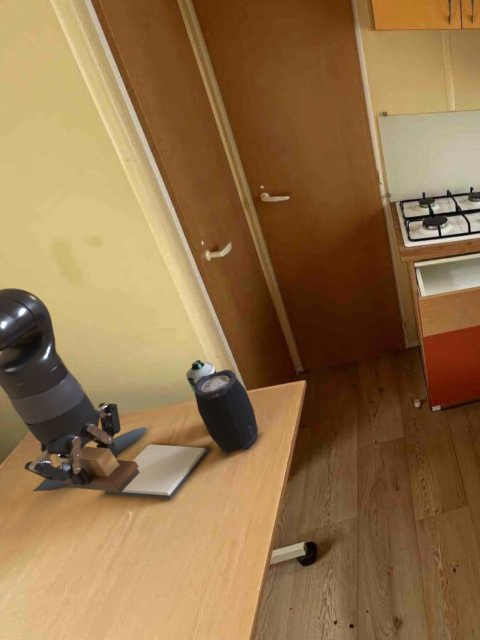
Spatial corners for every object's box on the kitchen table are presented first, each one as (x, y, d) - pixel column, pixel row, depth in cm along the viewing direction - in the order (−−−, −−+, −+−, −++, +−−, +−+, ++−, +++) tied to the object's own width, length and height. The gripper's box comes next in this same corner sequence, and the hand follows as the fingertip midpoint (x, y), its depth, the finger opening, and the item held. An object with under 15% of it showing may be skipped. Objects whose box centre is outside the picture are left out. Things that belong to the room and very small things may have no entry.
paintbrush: (138, 426, 106) (130, 412, 103) (151, 433, 104) (143, 419, 102) (36, 497, 90) (23, 482, 87) (49, 506, 88) (36, 491, 86)
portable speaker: (211, 447, 101) (181, 386, 92) (250, 420, 108) (226, 361, 99) (230, 464, 97) (201, 402, 88) (269, 435, 104) (246, 375, 95)
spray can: (230, 429, 105) (203, 369, 96) (206, 432, 104) (176, 371, 95) (239, 412, 110) (214, 353, 101) (216, 415, 109) (189, 355, 100)
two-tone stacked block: (120, 493, 76) (102, 466, 72) (68, 488, 77) (47, 461, 73) (142, 471, 80) (125, 444, 76) (91, 466, 80) (73, 440, 77)
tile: (104, 494, 90) (101, 490, 90) (150, 446, 101) (148, 442, 100) (170, 499, 89) (167, 495, 89) (210, 450, 100) (208, 446, 99)
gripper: (75, 370, 76) (116, 436, 83) (-21, 437, 63) (38, 507, 71) (114, 373, 75) (151, 439, 83) (25, 441, 62) (79, 511, 70)
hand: (98, 470), depth 77 cm, fingers closed on two-tone stacked block, 4 cm apart
